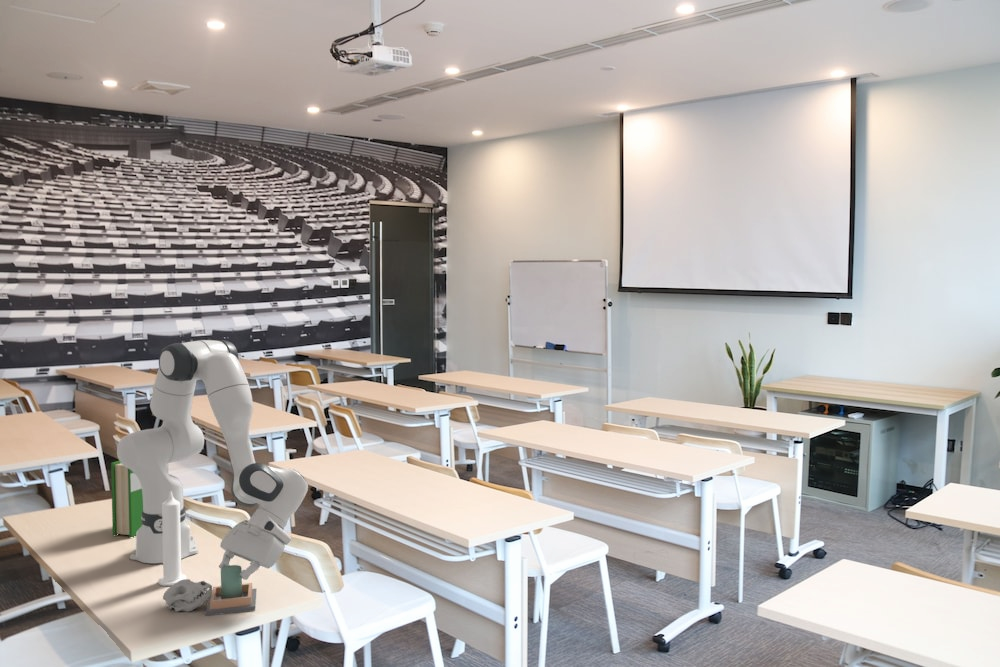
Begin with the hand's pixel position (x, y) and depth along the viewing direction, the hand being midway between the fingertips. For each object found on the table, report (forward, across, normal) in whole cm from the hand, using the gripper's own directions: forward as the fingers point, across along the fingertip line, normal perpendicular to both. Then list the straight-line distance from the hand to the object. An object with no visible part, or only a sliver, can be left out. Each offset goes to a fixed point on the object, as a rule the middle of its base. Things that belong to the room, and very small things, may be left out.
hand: (232, 573), depth 190 cm
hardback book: (-4, -78, +16) cm, 79 cm away
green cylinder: (+5, 0, +5) cm, 7 cm away
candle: (+7, -26, +4) cm, 27 cm away
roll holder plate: (+6, 0, +5) cm, 8 cm away
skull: (+12, -6, -1) cm, 13 cm away
